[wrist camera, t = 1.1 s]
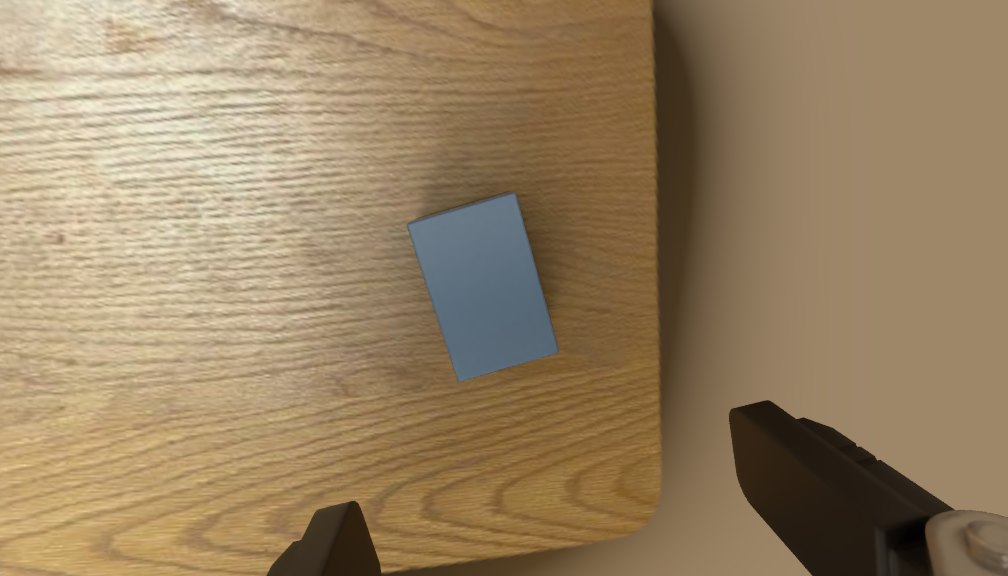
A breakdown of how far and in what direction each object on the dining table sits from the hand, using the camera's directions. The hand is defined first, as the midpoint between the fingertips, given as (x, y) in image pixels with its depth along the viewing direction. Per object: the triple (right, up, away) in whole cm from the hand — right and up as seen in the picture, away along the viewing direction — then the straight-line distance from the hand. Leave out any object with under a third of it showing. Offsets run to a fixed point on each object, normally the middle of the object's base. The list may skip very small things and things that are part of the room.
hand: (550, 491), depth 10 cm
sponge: (-2, +5, +13) cm, 14 cm away
